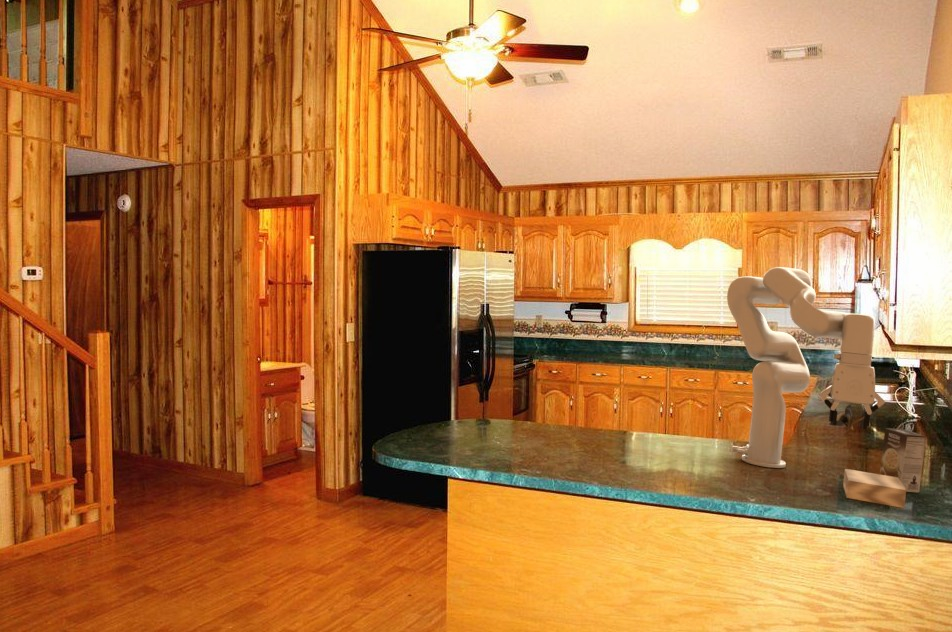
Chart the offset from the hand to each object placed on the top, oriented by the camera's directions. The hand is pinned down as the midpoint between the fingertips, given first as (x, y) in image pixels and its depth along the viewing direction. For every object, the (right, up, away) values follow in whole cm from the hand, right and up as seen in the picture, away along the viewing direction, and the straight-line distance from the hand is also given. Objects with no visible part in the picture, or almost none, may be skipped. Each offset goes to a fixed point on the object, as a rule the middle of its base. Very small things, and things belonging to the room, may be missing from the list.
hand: (848, 426), depth 189 cm
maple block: (+6, -19, 0) cm, 20 cm away
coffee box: (+21, -19, +12) cm, 31 cm away
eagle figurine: (0, -1, +3) cm, 3 cm away
